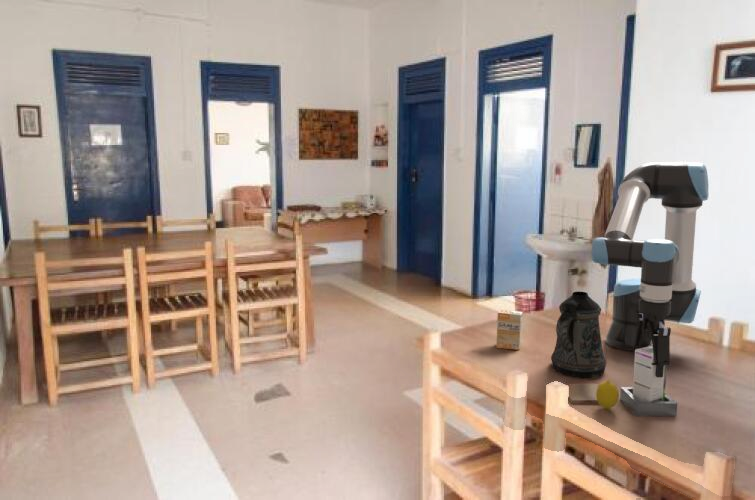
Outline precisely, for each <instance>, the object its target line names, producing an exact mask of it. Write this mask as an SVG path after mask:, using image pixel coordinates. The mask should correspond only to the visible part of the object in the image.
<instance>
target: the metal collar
mask: <svg viewBox="0 0 755 500" xmlns="http://www.w3.org/2000/svg"><path fill="white" fill-rule="evenodd" d="M619 398H620V401H621V402H623V404H624V405H625V406H626V407H627V408H628V409H629V410H630V411H631V412H632V414H633V415H635V417H677V415H678V414H677V413H678V402H676V401H675V400H674V399H673V398H672V397H671V396H669V395H668V394H667V392H665V400H664V401H659V402H640V401H639V400H638V399H637V398H636V397H635V396H634V395H633V386H628V387H627V386H624V387H623V386H620V395H619Z"/></svg>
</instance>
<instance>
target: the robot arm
mask: <svg viewBox="0 0 755 500" xmlns="http://www.w3.org/2000/svg"><path fill="white" fill-rule="evenodd" d="M617 196H618V199H617V201H616V205H615V207H614V208H613V209H614V210H613V212H612V214H611V217H610V220H609V222H608V224H607V228H606V231H605V234H604V236H603V237H602V236H601V237H595V238H594V239H593V240H592V243H591V248H590V249H591V250H590V257H591V260H592V262H594V263H595V264H601V265H605V266H619V267H632V268H639V269H640V268H641V272H640V273H641V274H640V278H631V279H629V278H628V279H623V280H619V281H618V282H616V283H615V284H614V289H613V294H612V295H613V299H612V302H613V303H612V320H611V322H610V325H609V328H608V330H607V332H606V335H605V343H606V344H607V345H609V346H610V347H613V348H615V349H618V350H624V351H633V352H635V350H636V349H640V348H644V347H648V346H652V347H653V356H654V363H651V364H652V373H651V388H662V385H663V371H664V365H667V366H670V363H671V362H670V357H671V356H670V354H671V351H670V349H671V348H670V343H671V342H670V339H671V331H672V329H671V327H670V326H669V327H666V323H665V321H666V322H670V323H671V322H672V323H676V324H679V323H681V324H692V323H693V322H694V321H695V317H696V313H697V309H698V305H699V301H700V299H701V298H700V297H701V294H702V293H701V292H702V291H701V290H699V289H697V283H696V282H695V281H693V279H692V277H693V265H694V264H693V263H694V252H695V250H694V249H695V237H696V236H695V235H696V234H695V233H696V221H697V220H696V219H697V211H698V210H699V209H700V208H701V207H702V206H703V204H704V203H703V202H704V201H707V200H709V176H708V169H707V166H706V165H705V164H704V163H701V162H690V161H688V162H687V161H684V162H682V161H680V162H679V161H677V162H673V161H671V162H658V161H657V162H656V161H655V162H649V163H645V164H643V165H639V166H638V167H636V168H634V169H632V171H630V172H629V173H628V174H627V175H626V176H625V177H624V178H623V179H622V180H621V181H620V185H619V187H618V189H617ZM649 199H655V200H656V199H657V200H661V206H662V207H663V208H664V209H665V225H664V227H665V228H664V239H662V238H650V239H645V240H638V239H636V240H635V239H634V235H635V234H636V229H637V226H638V223H639V219H640V217H641V213H642V210H643V207H644V204H645V203H646V202H648V200H649Z"/></svg>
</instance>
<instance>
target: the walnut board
mask: <svg viewBox="0 0 755 500" xmlns="http://www.w3.org/2000/svg"><path fill="white" fill-rule="evenodd" d="M565 384H566V385H568V386H569V399H568V401H569V402H570V403H571V405H573V404H576V405H577V404H578V405H581V404H582V405H583V404H585V405H587V404H589V405H590V404H597V405H600V404H599V403H598V401H597V398H596V392H597V388H598V386H599V385H600V384H599V383H565Z"/></svg>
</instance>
